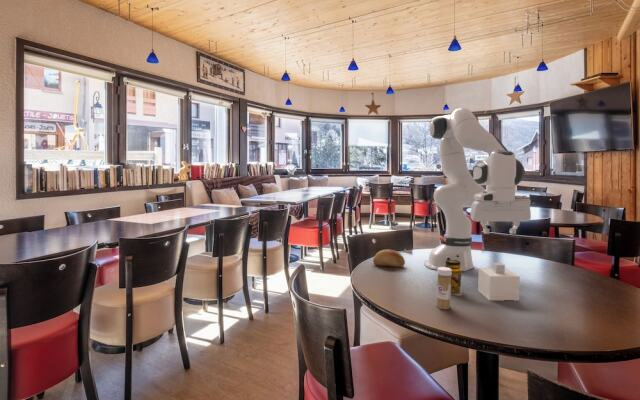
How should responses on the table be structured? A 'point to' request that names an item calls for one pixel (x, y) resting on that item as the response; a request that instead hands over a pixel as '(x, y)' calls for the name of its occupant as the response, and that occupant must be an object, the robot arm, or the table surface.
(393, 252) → the bread roll
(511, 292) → the white box
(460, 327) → the table surface
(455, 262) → the condiment
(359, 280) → the table surface
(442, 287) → the sprinkles bottle
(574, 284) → the table surface
